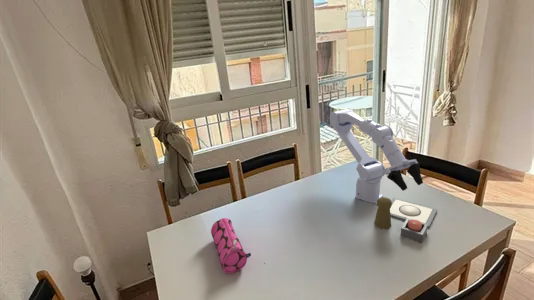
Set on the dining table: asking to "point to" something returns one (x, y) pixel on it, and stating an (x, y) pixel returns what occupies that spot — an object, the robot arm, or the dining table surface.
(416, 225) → the button
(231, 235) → the pencil case
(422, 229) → the button base
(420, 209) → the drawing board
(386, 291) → the dining table surface
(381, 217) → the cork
